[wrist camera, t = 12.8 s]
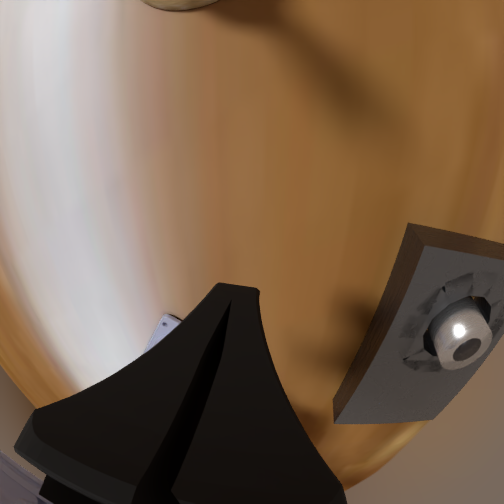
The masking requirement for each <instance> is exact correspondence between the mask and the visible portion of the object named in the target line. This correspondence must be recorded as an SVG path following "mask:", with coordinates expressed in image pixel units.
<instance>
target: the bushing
mask: <svg viewBox="0 0 504 504" xmlns="http://www.w3.org/2000/svg"><path fill="white" fill-rule="evenodd" d="M428 331H429V333H430V336H431V339H432V341H433V344H434V347H435V349H436V352H437V355H438V358H439V361H440V364H441V366H442V367H443V368H445V369H447V370H455V369H460V368H463V367H465V366H467V365H469V364H471V363H473V362H474V361H475V360H477V359H478V358H479V357H480V356H481V355H482V354H483V353H484V352H485V351H486V350H487V348H488V347H489V345H490V343H491V341H492V332H491V330H490V328H489V326H488V324H487V323H486V321H485V319H484V317H483V315H482V314H481V312H480V310H479V308H478V307H477V305H476V303H475V302H474V300H473V298H472V297H471V296H467V297H465V298H462V299H460V300H458V301H455V302H453V303H450V304H449V305H448V306H447V307H446V308H444V309H443V310H442V311H441V312H440V313H439V314H438V315H436V316H435V317H434V318H433V319H432V321H431V322H430V324H429V326H428Z"/></svg>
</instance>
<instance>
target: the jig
mask: <svg viewBox="0 0 504 504" xmlns="http://www.w3.org/2000/svg"><path fill="white" fill-rule="evenodd" d="M467 296H475V299H474V302H475V303H476V305H477V307H478V308H479V310H480V312H481V314H482V315H483V317H484V319H485V321H486V323H487V324H488V326H489V328H490V330H491V332H492V341H491V343H490V345H489V347H488V348H487V350H486V351H485V352H484V353H483V354H482V355H481V356H480V357H479V358H478V359H477V360H475V361H474V362H473V363H471V364H469V365H467V366H465V367H463V368H460V369H455V370H447V369H445V368H443V367H442V366H441V364H440V361H439V358H438V355H437V352H436V349H435V347H434V344H433V341H432V339H431V336H430V333H429V331H428V330H427V328H428V326H429V324H430V322H431V321H432V319H433V318H434V317H435V316H436V315H438V314H439V313H440V312H441V311H442V310H443V309H444V308H446V307H447V306H448V305H449V304H450V303H453V302H455V301H458V300H460V299H462V298H465V297H467ZM503 334H504V244H502V243H498V242H493V241H489V240H485V239H481V238H477V237H473V236H468V235H464V234H459V233H455V232H450V231H446V230H441V229H436V228H431V227H427V226H422V225H417V224H411V223H408V225H407V228H406V231H405V234H404V237H403V241H402V244H401V247H400V250H399V253H398V255H397V258H396V261H395V264H394V267H393V270H392V272H391V275H390V278H389V280H388V283H387V286H386V288H385V291H384V293H383V296H382V298H381V301H380V303H379V306H378V308H377V310H376V313H375V315H374V317H373V320H372V322H371V324H370V327H369V329H368V331H367V333H366V335H365V338H364V340H363V342H362V344H361V346H360V348H359V350H358V352H357V355H356V357H355V359H354V361H353V363H352V365H351V367H350V369H349V371H348V373H347V374H346V376H345V378H344V380H343V382H342V384H341V386H340V388H339V390H338V391H337V393H336V395H335V397H334V399H333V416H334V424H382V423H400V422H413V421H423V420H432V419H434V418H435V417H436V416H437V415H438V414H439V413H440V412H441V411H442V410H443V409H444V408H445V407H446V406H447V405H448V403H449V402H450V401H451V400H452V399H453V398H454V397H455V396H456V395H457V394H458V392H459V391H460V390H461V389H462V388H463V387H464V386H465V384H466V383H467V382H468V381H469V380H470V378H471V377H472V376H473V375H474V374H475V372H476V371H477V370H478V368H479V367H480V366H481V364H482V363H483V362H484V361H485V359H486V358H487V357H488V355H489V354H490V352H491V351H492V350H493V348H494V347H495V345H496V344H497V343H498V341H499V340H500V338H501V337H502V335H503Z"/></svg>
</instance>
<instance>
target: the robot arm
mask: <svg viewBox="0 0 504 504" xmlns="http://www.w3.org/2000/svg"><path fill="white" fill-rule="evenodd" d="M259 295H260V291H259V290H258V289H257V288H254V287H247V286H240V285H233V284H226V283H217V284H216V285H215V286H214V287H213V288H212V290H211V291H210V292H209V293H208V294H207V295H206V297H205V298H204V299H203V300H202V301H201V302H200V303H199V304H198V305H197V306H196V308H195V309H194V310H193V311H192V312H191V313H190V314H189V315H188V316H187V317H186V318H185V319H184V320H183V321H180V320H178V319H176V318H175V317H173V316H171V315H169V314H164V315H163V317H162V319H161V320H160V322H159V324H158V326H157V328H156V330H155V332H154V334H153V336H152V338H151V340H150V342H149V344H148V346H147V348H146V350H145V352H144V354H143V355H141V356H140V357H139V358H137V359H136V360H135V361H133V362H132V363H130V364H128V365H127V366H125V367H124V368H122V369H121V370H119V371H118V372H116V373H115V374H113V375H111V376H110V377H108V378H106V379H104V380H102V381H100V382H99V383H97V384H95V385H93V386H91V387H89V388H87V389H85V390H83V391H81V392H79V393H77V394H75V395H72V396H70V397H68V398H65V399H63V400H60V401H57V402H55V403H52V404H49V405H47V406H44V407H41V408H38V409H35V410H34V412H33V413H32V414H31V416H30V418H29V419H28V421H27V423H26V424H25V427H24V428H23V430H22V432H21V434H20V436H19V438H18V440H17V441H16V443H15V445H14V449H15V452H16V453H17V454H19V455H20V456H21V457H23V458H24V459H25V460H27V461H28V462H29V463H31V464H32V465H34V466H35V467H37V468H38V469H39V470H41V471H42V472H44V473H45V474H47V475H46V477H45V480H44V481H43V480H41V479H40V478H38V477H37V476H35V475H33V474H32V473H31V472H29V471H28V470H26V469H25V468H23V467H22V466H21V465H19V464H18V463H17V462H15V461H14V460H12V459H11V458H10V457H9V456H7V455H6V454H5V453H4V452H2V451H1V450H0V504H347V501H346V497H345V493H344V489H343V486H342V484H341V483H340V481H339V480H338V479H337V477H336V476H335V475H334V474H333V472H332V471H331V470H330V468H329V467H328V465H327V464H326V463H325V461H324V460H323V458H322V457H321V456H320V454H319V453H318V451H317V450H316V448H315V446H314V445H313V443H312V442H311V440H310V439H309V437H308V435H307V434H306V432H305V430H304V428H303V427H302V425H301V423H300V421H299V419H298V418H297V416H296V414H295V412H294V410H293V408H292V406H291V404H290V402H289V400H288V398H287V396H286V394H285V392H284V389H283V387H282V385H281V382H280V380H279V377H278V375H277V372H276V370H275V367H274V364H273V361H272V358H271V355H270V352H269V349H268V345H267V342H266V338H265V333H264V329H263V325H262V320H261V313H260V305H259ZM166 323H167V324H166Z"/></svg>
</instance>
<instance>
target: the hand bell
mask: <svg viewBox="0 0 504 504" xmlns="http://www.w3.org/2000/svg"><path fill="white" fill-rule="evenodd" d="M141 1H143V2H144V3H146V4H148V5H150V6H152V7H155V8H159V9H164V10H172V11H174V10H187V9H193V8H198V7H202V6H205V5H209V4H211V3H214V2H216V1H218V0H141Z"/></svg>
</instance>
